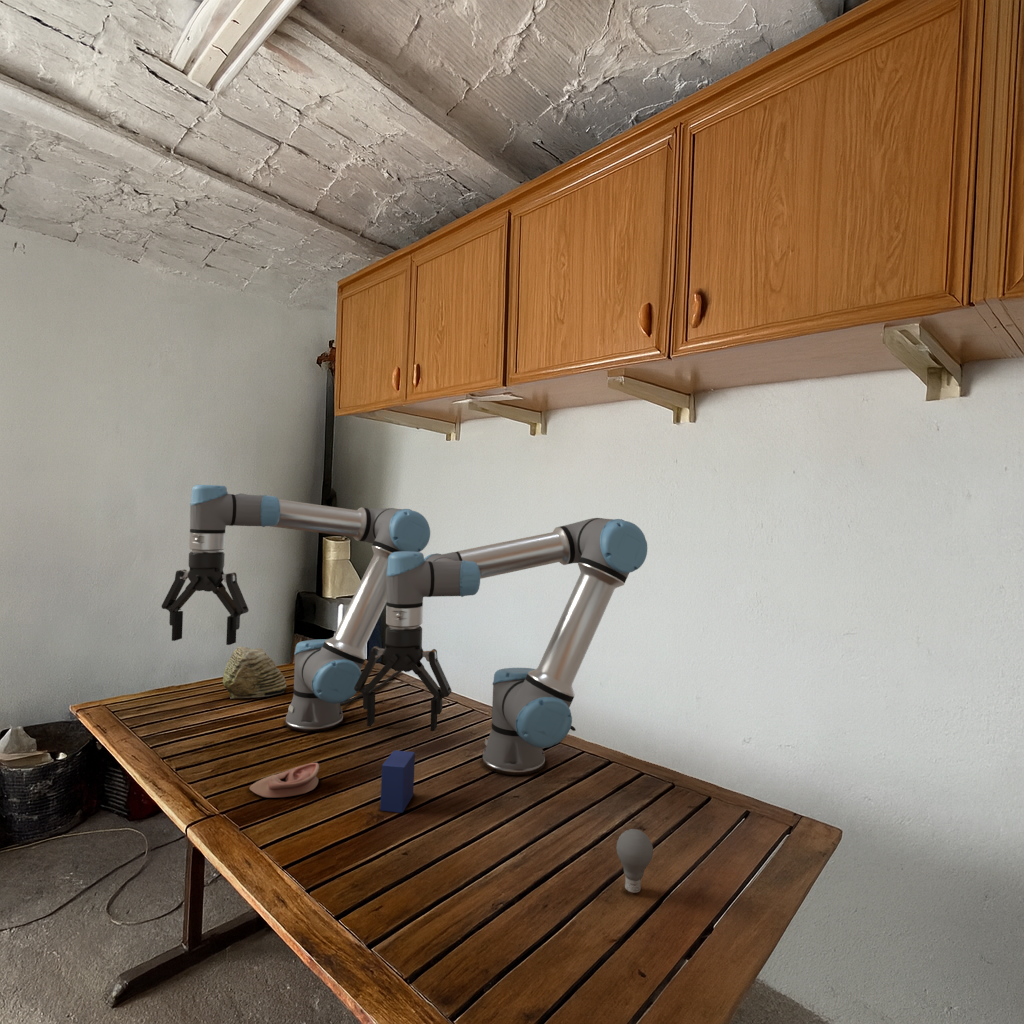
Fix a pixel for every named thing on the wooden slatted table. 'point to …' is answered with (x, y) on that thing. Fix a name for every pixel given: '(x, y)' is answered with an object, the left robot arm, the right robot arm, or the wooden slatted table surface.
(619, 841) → the light bulb
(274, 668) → the fossil
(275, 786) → the anatomical model
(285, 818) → the wooden slatted table surface
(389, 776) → the brick
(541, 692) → the right robot arm
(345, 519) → the left robot arm
